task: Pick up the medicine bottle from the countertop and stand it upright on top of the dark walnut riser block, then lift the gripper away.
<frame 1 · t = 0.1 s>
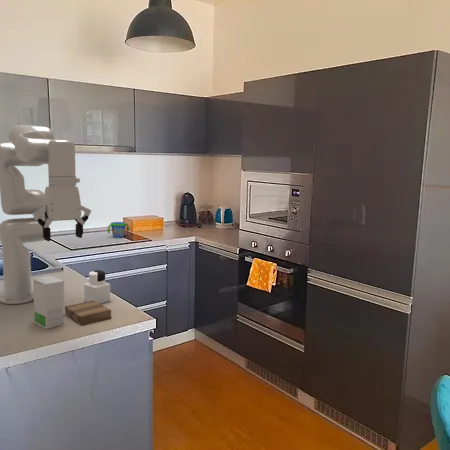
hand: (63, 238, 130), 31 cm above the worktop, tool pointing down, fingers open, 9 cm apart
skincare box: (49, 324, 144), on the worktop
snack cup: (118, 237, 301), on the worktop
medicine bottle: (97, 301, 168), on the worktop
walnut riser: (88, 316, 152), on the worktop
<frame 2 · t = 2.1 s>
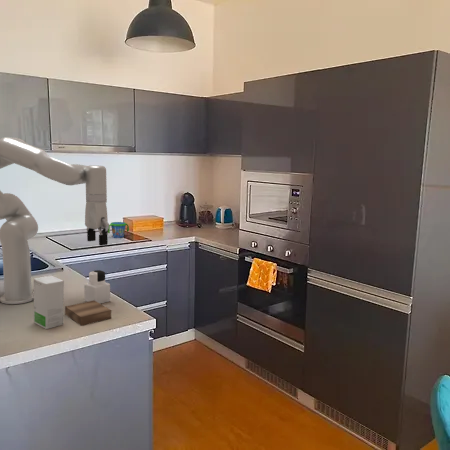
hand: (97, 242, 165), 23 cm above the worktop, tool pointing down, fingers open, 9 cm apart
nothing on the worktop moved.
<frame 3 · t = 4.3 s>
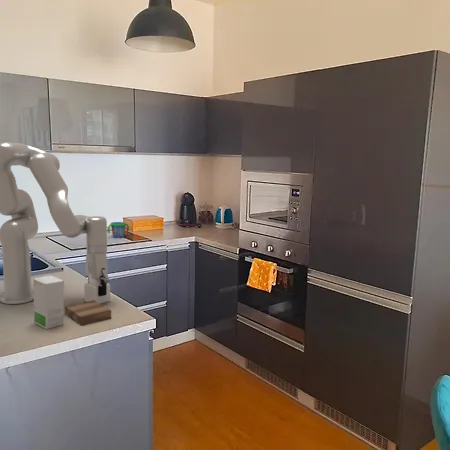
hand: (97, 292, 168), 3 cm above the worktop, tool pointing down, fingers closed on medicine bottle, 7 cm apart
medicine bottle: (97, 301, 168), on the worktop, touching gripper
everything else where it was.
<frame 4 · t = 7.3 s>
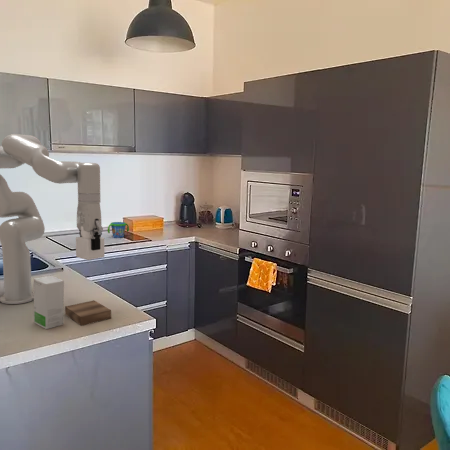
hand: (90, 247, 153), 24 cm above the worktop, tool pointing down, fingers closed on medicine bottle, 7 cm apart
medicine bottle: (90, 257, 153), point 20 cm above the worktop, touching gripper
everything else where it was.
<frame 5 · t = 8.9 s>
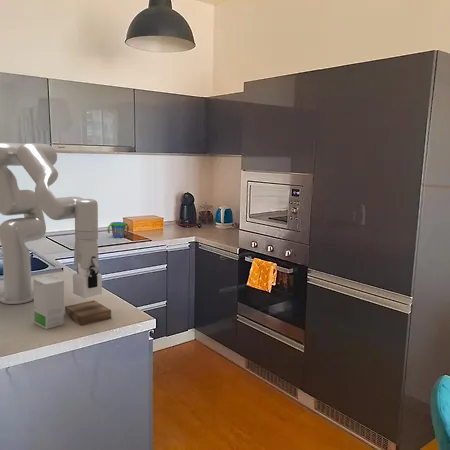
hand: (87, 284, 150), 12 cm above the worktop, tool pointing down, fingers closed on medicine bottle, 7 cm apart
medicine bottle: (87, 294, 151), point 8 cm above the worktop, touching gripper
everything else where it was.
when the fingers open (8 cm above the worktop, at t = 10.3 s): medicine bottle drops 1 cm, resting on walnut riser.
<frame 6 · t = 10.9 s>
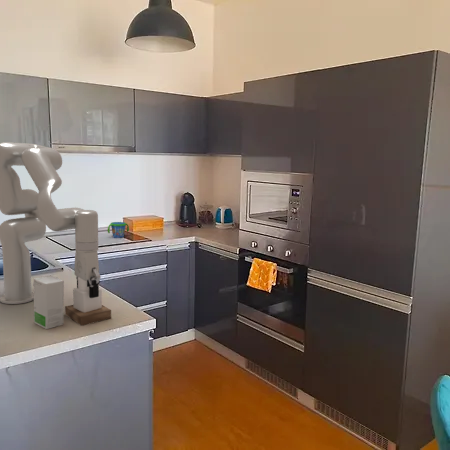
hand: (87, 293, 151), 8 cm above the worktop, tool pointing down, fingers open, 9 cm apart
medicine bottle: (87, 308, 152), point 3 cm above the worktop, touching walnut riser
everything else where it was.
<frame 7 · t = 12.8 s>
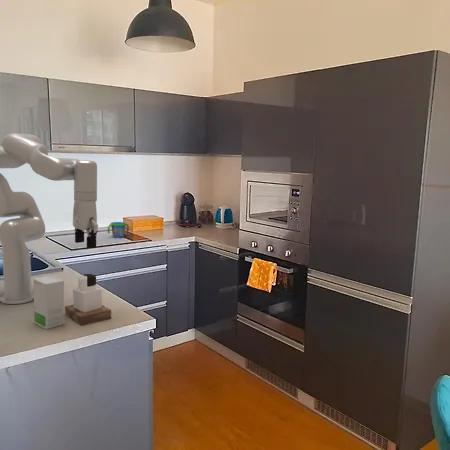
hand: (85, 245, 151), 25 cm above the worktop, tool pointing down, fingers open, 9 cm apart
nothing on the worktop moved.
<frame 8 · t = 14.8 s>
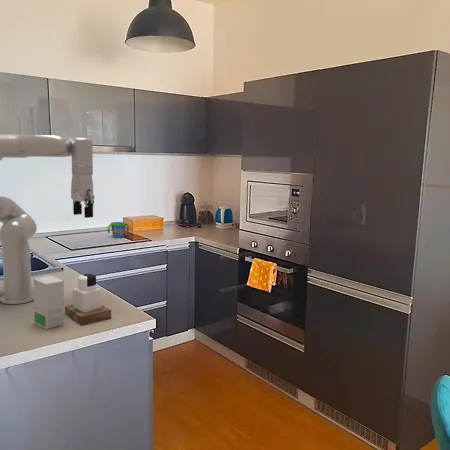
hand: (83, 215, 165), 33 cm above the worktop, tool pointing down, fingers open, 9 cm apart
nothing on the worktop moved.
at the end: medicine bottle inside the target area on the walnut riser (0.1 cm from its centre), point 2.8 cm above the walnut riser's base; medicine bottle tilted 0°; the gripper is holding nothing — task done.
